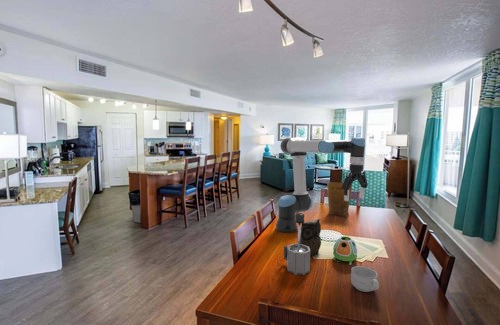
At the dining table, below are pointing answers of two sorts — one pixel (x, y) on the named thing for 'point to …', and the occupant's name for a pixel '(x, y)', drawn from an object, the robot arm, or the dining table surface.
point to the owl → (311, 236)
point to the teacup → (364, 279)
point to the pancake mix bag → (337, 199)
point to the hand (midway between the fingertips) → (354, 199)
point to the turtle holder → (345, 249)
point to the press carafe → (297, 259)
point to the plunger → (299, 231)
